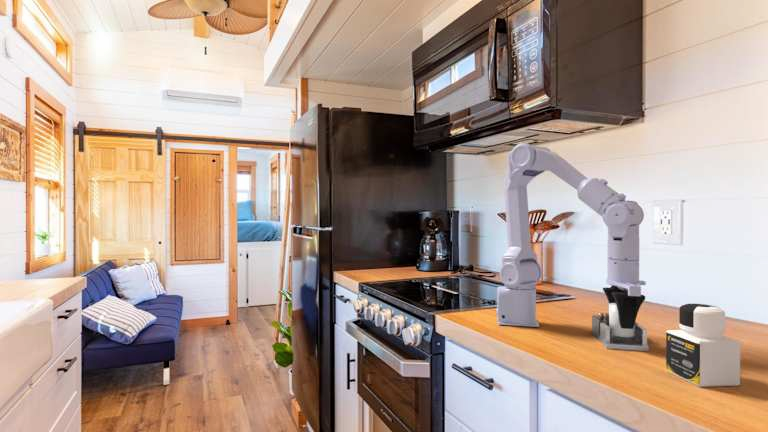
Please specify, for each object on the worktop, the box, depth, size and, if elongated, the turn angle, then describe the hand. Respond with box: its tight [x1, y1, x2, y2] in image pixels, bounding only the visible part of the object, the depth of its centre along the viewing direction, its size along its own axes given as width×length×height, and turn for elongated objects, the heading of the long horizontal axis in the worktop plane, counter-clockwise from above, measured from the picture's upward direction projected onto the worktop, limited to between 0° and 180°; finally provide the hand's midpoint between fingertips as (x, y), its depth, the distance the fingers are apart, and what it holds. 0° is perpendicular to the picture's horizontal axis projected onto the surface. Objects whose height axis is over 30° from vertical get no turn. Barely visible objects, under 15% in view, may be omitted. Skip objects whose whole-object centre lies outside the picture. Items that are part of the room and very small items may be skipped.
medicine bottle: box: [665, 303, 741, 388], centre depth 70 cm, size 7×7×12 cm
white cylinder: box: [608, 302, 635, 337], centre depth 88 cm, size 5×5×7 cm
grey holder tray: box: [591, 312, 650, 352], centre depth 91 cm, size 8×12×5 cm, turn 167°
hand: (622, 325), depth 88 cm, fingers closed on white cylinder, 4 cm apart
